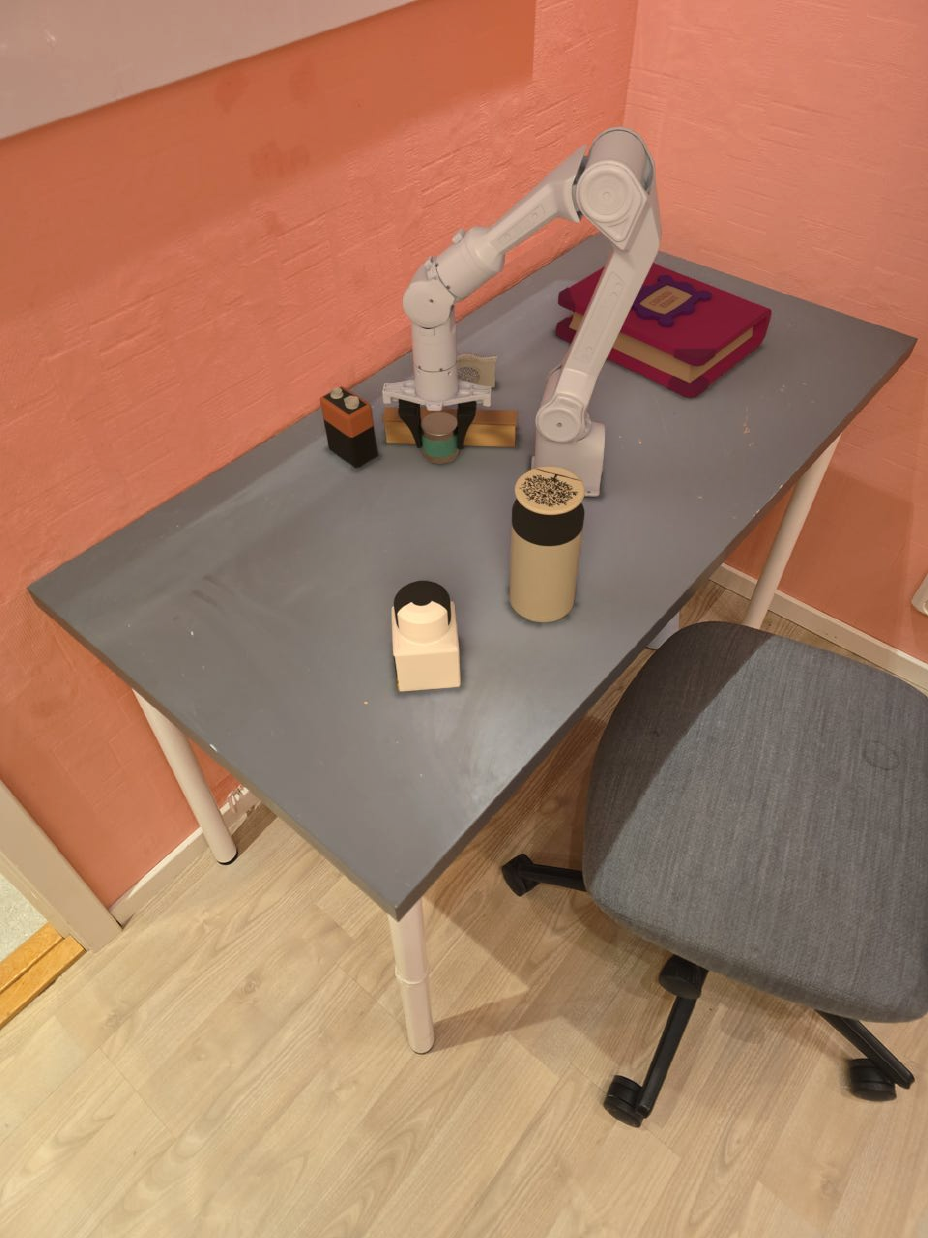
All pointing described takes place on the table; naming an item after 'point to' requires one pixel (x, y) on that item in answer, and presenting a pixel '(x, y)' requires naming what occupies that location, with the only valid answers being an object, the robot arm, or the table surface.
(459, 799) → the table surface
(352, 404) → the battery
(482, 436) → the wooden block
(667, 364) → the book
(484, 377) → the lattice window wall
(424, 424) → the tin can
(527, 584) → the travel mug
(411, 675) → the cream block figurine
